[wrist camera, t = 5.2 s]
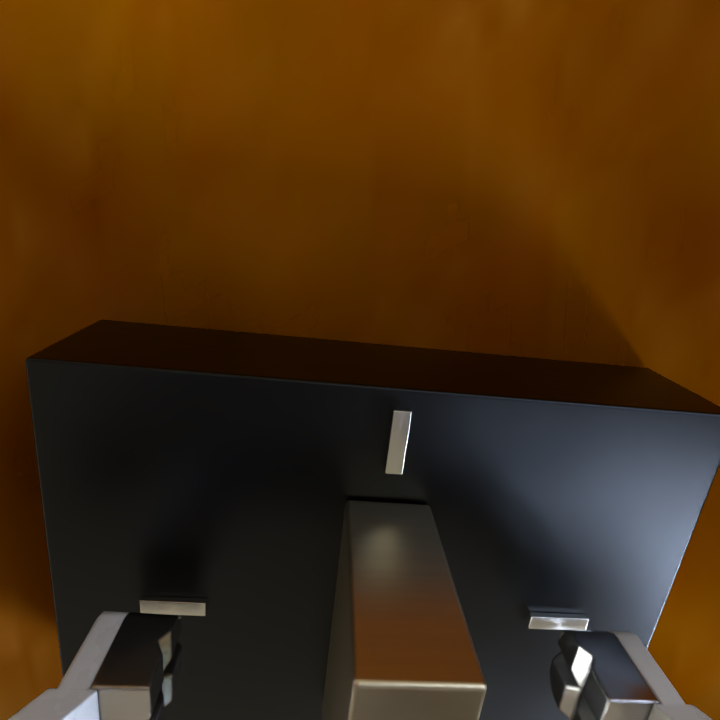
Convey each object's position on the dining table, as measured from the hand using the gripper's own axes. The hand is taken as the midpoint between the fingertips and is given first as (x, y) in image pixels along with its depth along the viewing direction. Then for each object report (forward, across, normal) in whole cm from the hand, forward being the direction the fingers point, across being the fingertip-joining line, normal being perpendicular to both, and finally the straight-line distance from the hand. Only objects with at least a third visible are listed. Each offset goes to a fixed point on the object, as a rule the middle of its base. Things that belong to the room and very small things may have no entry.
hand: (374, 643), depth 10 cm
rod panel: (+4, 0, 0) cm, 4 cm away
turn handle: (+1, 0, 0) cm, 1 cm away
